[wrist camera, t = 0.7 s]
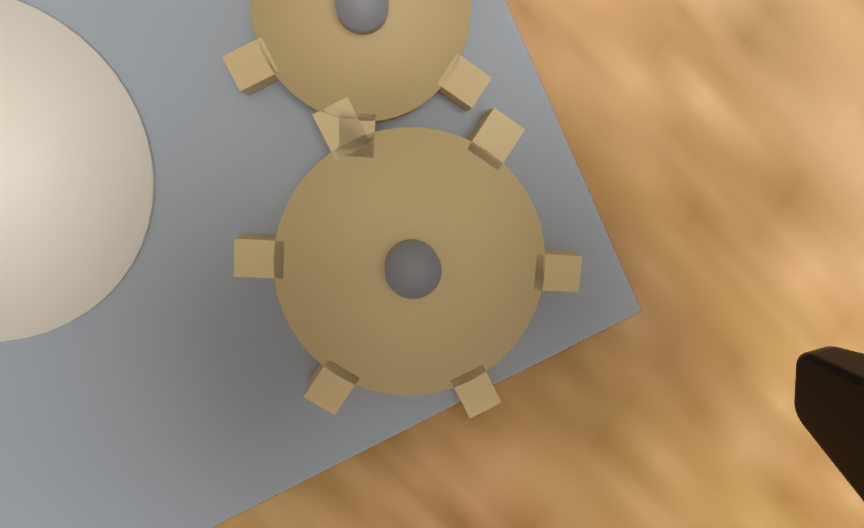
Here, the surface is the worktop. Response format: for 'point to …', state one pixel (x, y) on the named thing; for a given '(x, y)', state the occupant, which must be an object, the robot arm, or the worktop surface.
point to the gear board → (304, 255)
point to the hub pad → (64, 174)
